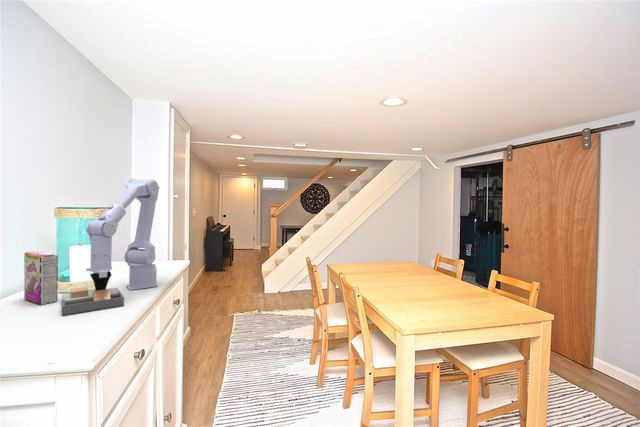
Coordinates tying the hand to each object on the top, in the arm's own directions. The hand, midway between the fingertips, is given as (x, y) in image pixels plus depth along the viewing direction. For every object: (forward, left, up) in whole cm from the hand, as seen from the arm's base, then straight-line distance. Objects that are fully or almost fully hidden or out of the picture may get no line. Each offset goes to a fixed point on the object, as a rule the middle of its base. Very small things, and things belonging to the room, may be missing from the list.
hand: (100, 294), depth 101 cm
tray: (+2, +5, -3) cm, 6 cm away
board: (+2, -4, -3) cm, 5 cm away
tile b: (+5, -5, -1) cm, 7 cm away
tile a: (0, +3, -1) cm, 3 cm away
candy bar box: (+15, -12, -3) cm, 20 cm away
